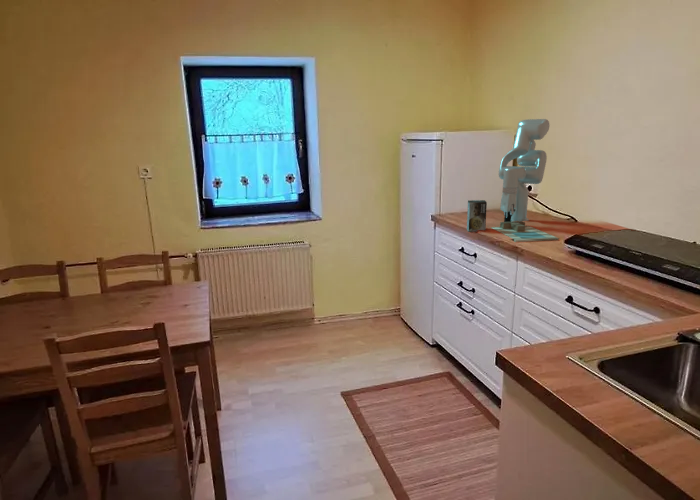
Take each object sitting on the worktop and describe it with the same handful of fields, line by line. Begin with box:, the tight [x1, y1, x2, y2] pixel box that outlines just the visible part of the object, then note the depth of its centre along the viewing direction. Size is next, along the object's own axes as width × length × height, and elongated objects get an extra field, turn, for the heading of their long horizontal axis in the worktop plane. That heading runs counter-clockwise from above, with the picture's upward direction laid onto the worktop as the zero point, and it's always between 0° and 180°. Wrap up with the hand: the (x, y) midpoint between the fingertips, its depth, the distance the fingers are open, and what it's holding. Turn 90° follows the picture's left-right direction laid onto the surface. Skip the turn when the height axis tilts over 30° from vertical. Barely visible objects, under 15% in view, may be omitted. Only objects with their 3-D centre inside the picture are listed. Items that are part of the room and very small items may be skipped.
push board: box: [490, 225, 560, 243], centre depth 233 cm, size 30×22×1 cm
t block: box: [499, 221, 526, 232], centre depth 240 cm, size 12×12×3 cm
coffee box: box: [466, 199, 488, 233], centre depth 241 cm, size 9×6×16 cm
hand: (507, 223), depth 250 cm, fingers closed
